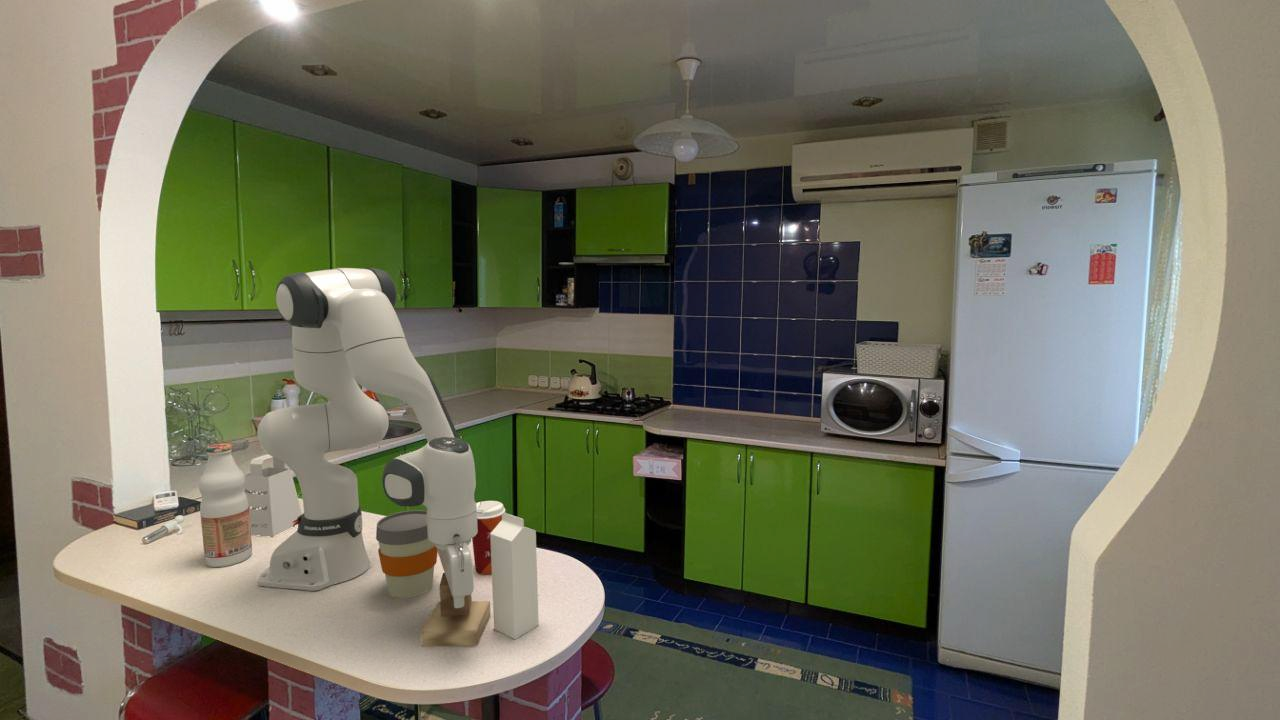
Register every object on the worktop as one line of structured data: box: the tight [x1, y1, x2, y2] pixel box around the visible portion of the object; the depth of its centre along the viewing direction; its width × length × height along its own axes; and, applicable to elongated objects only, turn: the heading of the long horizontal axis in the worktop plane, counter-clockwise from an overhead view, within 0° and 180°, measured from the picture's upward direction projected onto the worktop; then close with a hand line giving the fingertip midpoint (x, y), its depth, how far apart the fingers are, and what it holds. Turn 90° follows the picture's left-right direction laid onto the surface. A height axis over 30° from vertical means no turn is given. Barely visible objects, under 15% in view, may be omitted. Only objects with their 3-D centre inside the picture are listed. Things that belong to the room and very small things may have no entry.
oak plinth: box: [420, 600, 491, 647], centre depth 111 cm, size 10×10×3 cm
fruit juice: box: [198, 442, 253, 568], centre depth 141 cm, size 9×9×28 cm
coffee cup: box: [471, 500, 506, 576], centre depth 135 cm, size 8×8×15 cm
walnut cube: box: [438, 572, 472, 617], centre depth 111 cm, size 5×5×6 cm
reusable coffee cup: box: [375, 509, 438, 598], centre depth 127 cm, size 13×13×15 cm
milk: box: [490, 512, 539, 640], centre depth 111 cm, size 6×6×22 cm
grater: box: [244, 453, 303, 538], centre depth 160 cm, size 10×10×20 cm
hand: (455, 597), depth 111 cm, fingers closed on walnut cube, 6 cm apart
